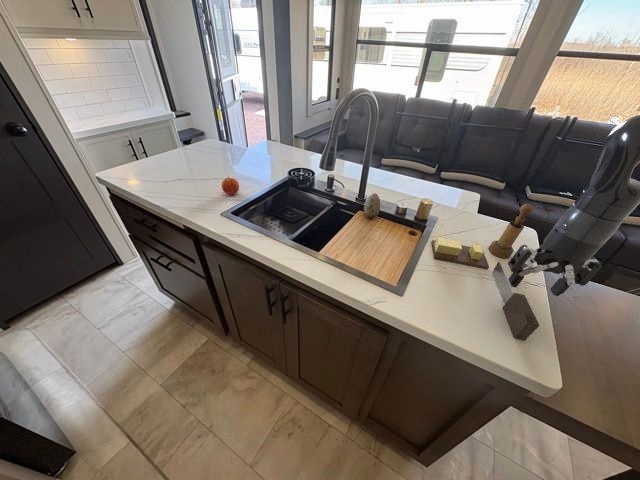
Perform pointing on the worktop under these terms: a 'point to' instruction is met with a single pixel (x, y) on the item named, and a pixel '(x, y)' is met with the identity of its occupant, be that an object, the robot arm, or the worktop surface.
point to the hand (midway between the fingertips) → (532, 288)
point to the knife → (515, 306)
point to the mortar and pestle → (510, 234)
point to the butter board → (461, 257)
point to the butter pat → (476, 251)
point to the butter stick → (448, 246)
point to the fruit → (230, 186)
